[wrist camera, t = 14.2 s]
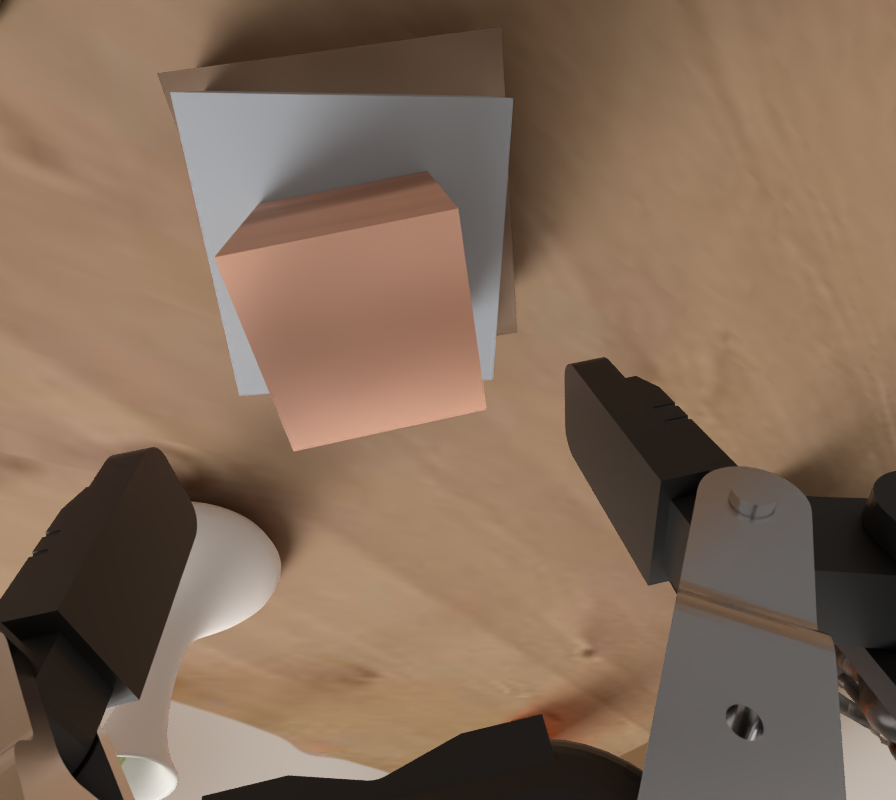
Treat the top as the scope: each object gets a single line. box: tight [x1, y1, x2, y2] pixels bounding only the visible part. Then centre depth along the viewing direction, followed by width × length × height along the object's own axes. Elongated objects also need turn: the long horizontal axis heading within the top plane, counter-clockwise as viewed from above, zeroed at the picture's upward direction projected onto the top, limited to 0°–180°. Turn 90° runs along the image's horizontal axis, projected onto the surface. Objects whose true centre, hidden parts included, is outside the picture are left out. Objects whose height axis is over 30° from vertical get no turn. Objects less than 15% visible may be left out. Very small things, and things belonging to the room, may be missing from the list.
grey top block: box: [170, 91, 513, 396], centre depth 19 cm, size 10×10×4 cm
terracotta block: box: [214, 171, 486, 451], centre depth 15 cm, size 6×6×6 cm
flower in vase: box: [103, 502, 281, 800], centre depth 24 cm, size 13×11×25 cm
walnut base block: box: [157, 26, 517, 336], centre depth 23 cm, size 12×12×5 cm
